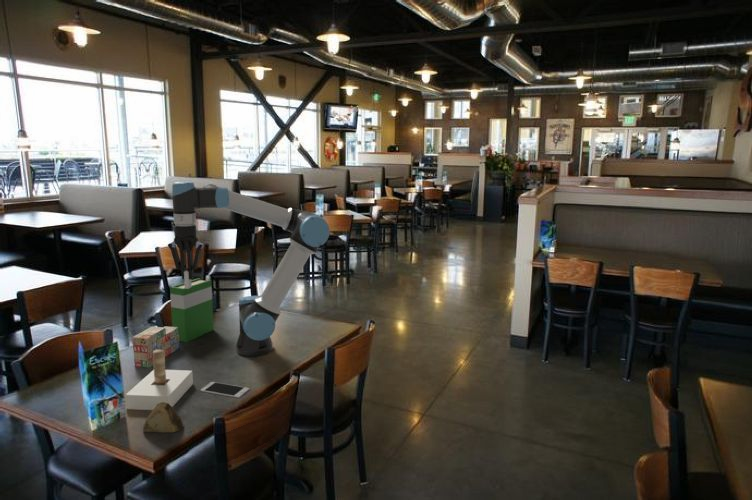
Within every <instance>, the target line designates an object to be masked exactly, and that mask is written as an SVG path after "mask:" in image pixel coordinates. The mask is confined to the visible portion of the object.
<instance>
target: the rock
mask: <svg viewBox="0 0 752 500" xmlns="http://www.w3.org/2000/svg"><path fill="white" fill-rule="evenodd" d="M184 427H185V424H184V421H183V420H182V418H181V416H180V415H179V414H178V413H177V411H176V410H175V408H174V407H172V406H170V405H169V403H165V402H161V403H159V404H157V405H156V407H155V408H154V409H153V410H151V412H150V413H149V414H148V416H147V418H146V420H145V423H144V425H143V429H142V431H143V432H148V433H149V432H150V433H176V432H178V431H180V430H182V429H183V428H184Z"/></svg>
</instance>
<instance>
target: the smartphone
mask: <svg viewBox="0 0 752 500" xmlns="http://www.w3.org/2000/svg"><path fill="white" fill-rule="evenodd" d="M249 390H250V388H249V387H245V386H239V385H235V384H234V385H233V384H228V383H222V382H216V381H211V382H209V383H208V384H207V385H205V386H203V387H202V388H201V389H200V392H203V393H208V394H214V395H219V396H220V395H221V396H225V397H230V398H235V399H239V398H241V397H242V396H243V395H245V394H246V393H247V392H249Z"/></svg>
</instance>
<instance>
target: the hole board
mask: <svg viewBox="0 0 752 500" xmlns="http://www.w3.org/2000/svg"><path fill="white" fill-rule="evenodd" d="M165 371H166V384H165V385H155V383H154V381H155V379H154V369H153V370H152V371H150V372H149V373H148V374H147V375H146V376H145V377H143V379H141V380H140V381H139V382H137V384H136V385H135V386H133V388H131V389H130V390H128V392H127V393H126V394H125V406H126V407H125V408H126V410H139V411H153V409H154V408H155V407H156V405H157V404H159V403H161V402H165V403H169V405H170V406H172V408H174V406H175V404H177V402H178V401H180V399H181V398H182V397H183V396H184V394H186V392H187V391H188V390H189V389H190V388H191V387H192V386H193V385H194V381H193V380H194V379H193V378H194V376H193V375H194V374H193V370H187V369H186V370H181V369H165Z"/></svg>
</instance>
